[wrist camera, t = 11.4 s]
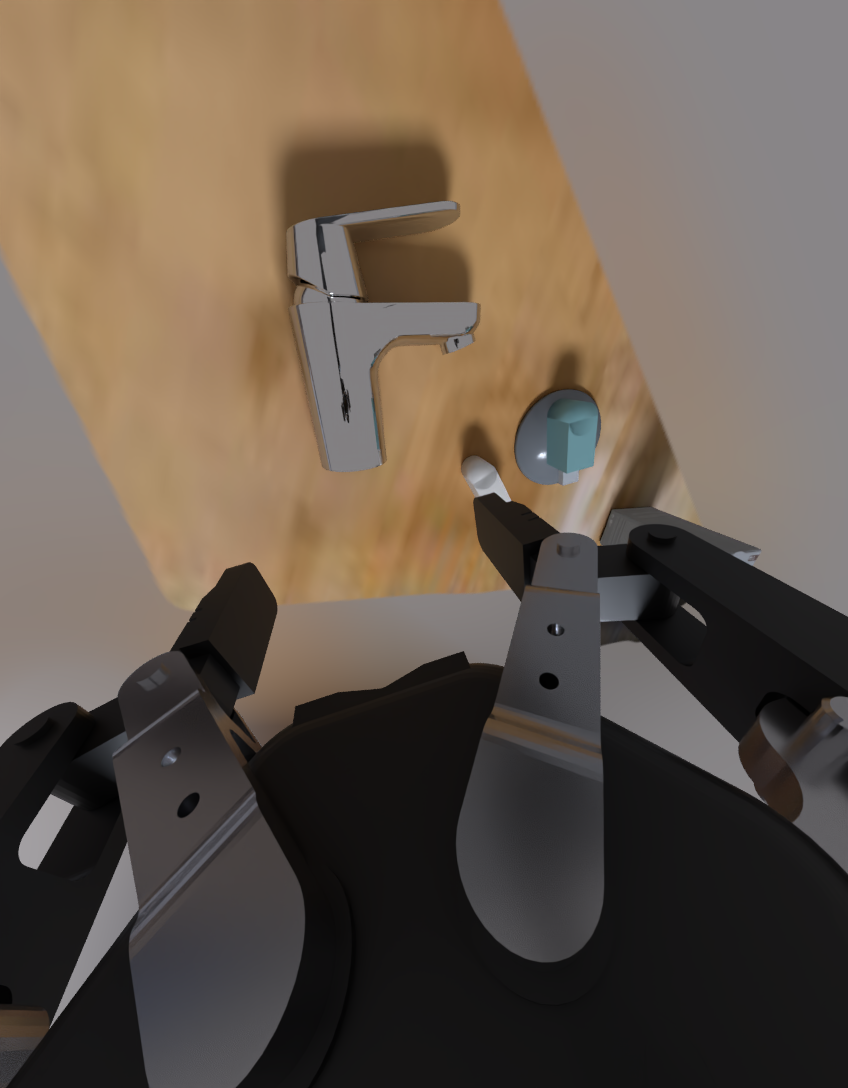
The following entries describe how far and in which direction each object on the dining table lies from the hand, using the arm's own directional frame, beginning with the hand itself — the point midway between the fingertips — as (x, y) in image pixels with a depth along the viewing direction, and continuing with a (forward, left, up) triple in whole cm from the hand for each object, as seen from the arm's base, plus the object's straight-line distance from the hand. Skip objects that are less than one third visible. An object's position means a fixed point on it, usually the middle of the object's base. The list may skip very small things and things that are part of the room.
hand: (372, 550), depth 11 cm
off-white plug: (+11, +14, -28) cm, 33 cm away
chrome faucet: (-6, +6, -29) cm, 30 cm away
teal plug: (+8, +25, -28) cm, 38 cm away
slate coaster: (+8, +25, -28) cm, 38 cm away
